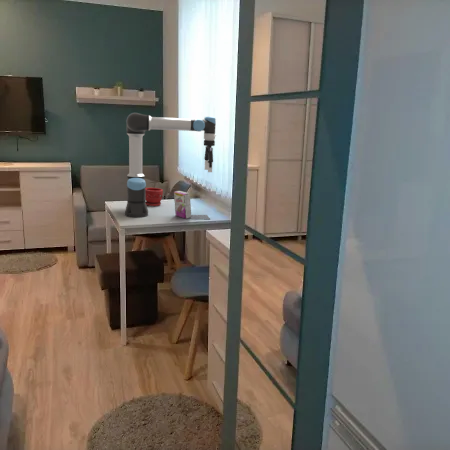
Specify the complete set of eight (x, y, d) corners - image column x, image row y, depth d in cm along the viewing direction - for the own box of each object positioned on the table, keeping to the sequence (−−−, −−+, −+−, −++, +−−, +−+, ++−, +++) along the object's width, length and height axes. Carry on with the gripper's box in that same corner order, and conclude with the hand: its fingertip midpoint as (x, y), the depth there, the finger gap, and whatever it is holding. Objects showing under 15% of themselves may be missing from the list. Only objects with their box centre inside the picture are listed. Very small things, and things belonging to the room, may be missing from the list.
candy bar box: (175, 216, 288) (173, 191, 283) (181, 214, 292) (179, 190, 287) (185, 219, 281) (184, 194, 276) (191, 217, 284) (190, 192, 279)
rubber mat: (190, 219, 280) (190, 218, 280) (187, 215, 292) (187, 214, 292) (210, 219, 283) (210, 218, 283) (206, 215, 295) (206, 214, 295)
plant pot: (150, 207, 310) (150, 190, 308) (141, 204, 320) (141, 188, 317) (166, 205, 319) (166, 189, 316) (156, 202, 328) (156, 186, 326)
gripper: (218, 141, 287) (216, 173, 292) (211, 139, 310) (210, 168, 316) (207, 140, 285) (205, 173, 290) (201, 138, 309) (200, 168, 314)
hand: (208, 171), depth 303 cm, fingers open, 13 cm apart
